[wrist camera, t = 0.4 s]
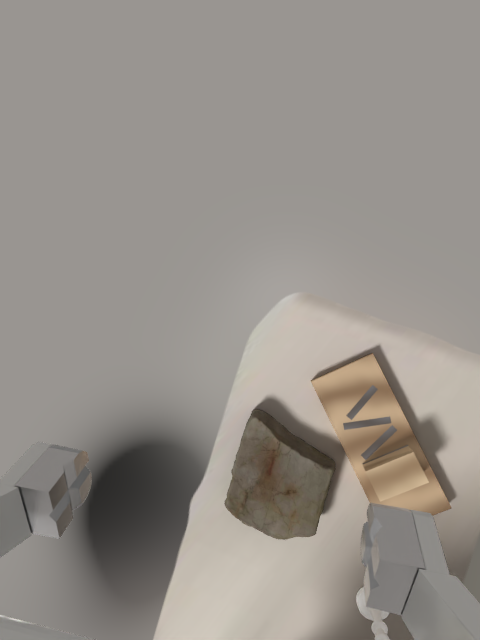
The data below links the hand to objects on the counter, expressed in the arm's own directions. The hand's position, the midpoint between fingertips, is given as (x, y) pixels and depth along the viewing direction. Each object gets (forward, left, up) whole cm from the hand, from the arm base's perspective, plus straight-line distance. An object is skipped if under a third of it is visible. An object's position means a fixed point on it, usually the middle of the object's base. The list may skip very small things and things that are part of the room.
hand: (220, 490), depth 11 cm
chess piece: (-37, +5, -52) cm, 64 cm away
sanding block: (-20, -6, -50) cm, 54 cm away
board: (-16, -6, -52) cm, 54 cm away
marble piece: (-15, +9, -52) cm, 55 cm away
